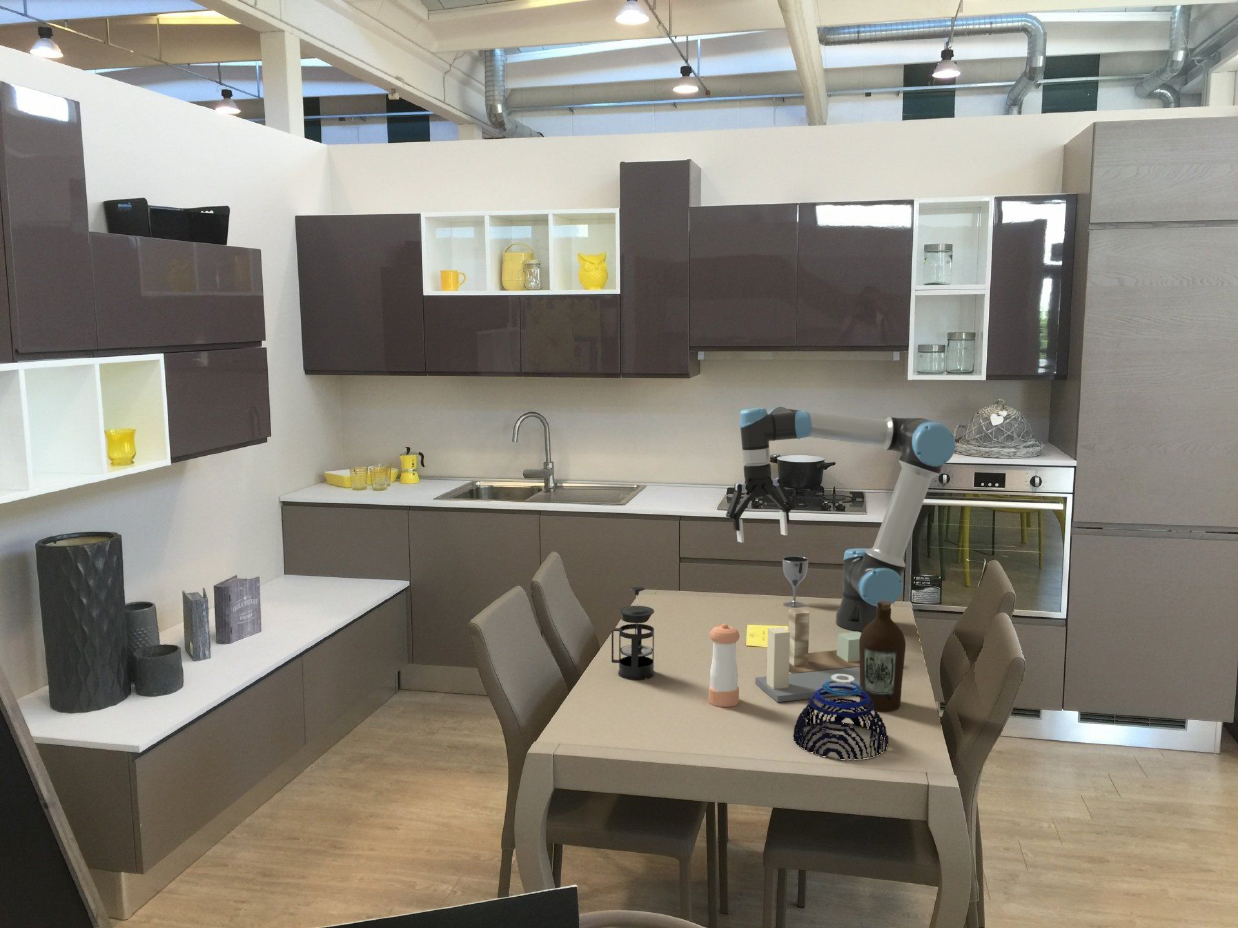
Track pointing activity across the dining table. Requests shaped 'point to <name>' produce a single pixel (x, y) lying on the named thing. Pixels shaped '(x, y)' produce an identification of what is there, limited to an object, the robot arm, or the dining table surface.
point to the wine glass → (795, 575)
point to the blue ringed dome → (840, 720)
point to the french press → (635, 642)
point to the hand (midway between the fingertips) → (762, 538)
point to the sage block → (848, 646)
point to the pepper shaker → (724, 667)
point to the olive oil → (882, 660)
